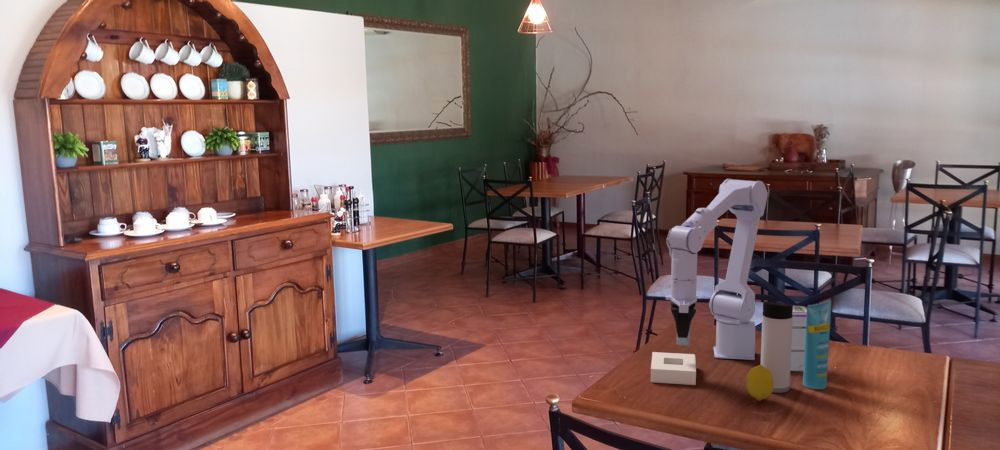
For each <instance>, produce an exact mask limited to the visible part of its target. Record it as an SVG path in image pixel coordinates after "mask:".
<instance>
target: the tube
mask: <svg viewBox="0 0 1000 450" xmlns="http://www.w3.org/2000/svg"><path fill="white" fill-rule="evenodd" d="M806 309H807V316H806V335H805V354H804V371H802V372H803V375H802V385H803V386H804V387H805V388H807V389H811V390H825V389H826V388H827V381H828V379H827V378H828V361H829V345H830V335H831V334H830V331H831V315H832V314H831V313H832V312H831V311H832V300H826V301H824V302H820V303H814V304H808V305H807V306H806Z"/></svg>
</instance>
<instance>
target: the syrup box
mask: <svg viewBox="0 0 1000 450" xmlns="http://www.w3.org/2000/svg"><path fill="white" fill-rule="evenodd" d="M792 316H793V319H792V320H793V321H792V344H791V367H790V372H804V354H805V335H806V316H807V307H806V306H804V305H803V306H802V305H793V312H792Z"/></svg>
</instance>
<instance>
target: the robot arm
mask: <svg viewBox="0 0 1000 450" xmlns="http://www.w3.org/2000/svg"><path fill="white" fill-rule="evenodd" d="M766 187H767V186H766V185H765V183H764V182H763V181H761V180H757V181H755V180H744V179H732V178H726V179H725V180H723V182H722V183H721V184H720V185H719V188H718V194H717V195H716V196H715V197H714V199H713V200H712V201H711V202H710V203H709V205H707V206H706V207H698V208H697V209H696V210H695V211H694V213H693V214H691V215H690V216H689V217H688V218H687V219H686V220H685V221H684V222H683V223H682V224H681V225H675V226H673V227H672V228H670V229H669V231H668V234H667V236H666V237H667V238H666V241H665V242H666V246H667V248H668V251H669V252H668V253H669V257H670V258H671V266H670V267H671V268H670V269H671V270H670V271H671V272H670V273H671V275H670V276H671V277H670V294H666V295H665V300H667V301H671V302H670V306H671V307H670V311H671V314H672V316H673V319H674V322H675V328H676V335H678V337H679V338H687V337H688V333H689V329H690V330H691V323H692V321H693V319H694V316H695V314H696V312H697V309H695V307H696V302H698V297H697V280H698V279H697V278H698V277H697V276H698V252H699V251H701V249H702V248H703V245H704V242H705V240H706V237H707V236H708V235H709V234H710V233H711V231H713V230H714V229H715V228H716V227H717V225H718V219H719V218H720V217H721V216H722V215H724V214H725V213H726V212H728V210H729V211H730V212H731V213H732V214H733V215H735V217H736V220H737V222H736V225H735V229H734V235H733V240H732V245H731V250H730V254H729V259H728V263H727V264H728V266H727V271H726V275H725V278H724V280H722V281H720V282H719V283H717V284H716V285H715V286H714V290H713V293H712V295H711V297H710V299H709V305H708V306H709V311H710V313H711V314H712V315H713V319H714V320H716V322H715V323H716V327H715V328H716V331H715V334H716V335H715V346H712V347H713V352H714V353H713V354H714V355H713V356H714V358H716V359H727V360H729V359H730V360H745V361H747V360H749V361H754V360H755V357H756V356H755V351H756V323H755V321H753V320H752V319H753V316H754V315H755V312H756V303H755V299H756V293H755V292H754V290H753V289H752V288H751V287H750V286H749V285H748V279H749V273H750V269H751V264H752V258H753V253H754V249H755V243H756V238H757V233H758V228H759V224H760V218H761V217H763V216H764V214H765V209H766V205H767V200H768V194H769V193H768V190H767V188H766ZM732 293H733V294H732ZM738 294H739V295H738Z"/></svg>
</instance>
